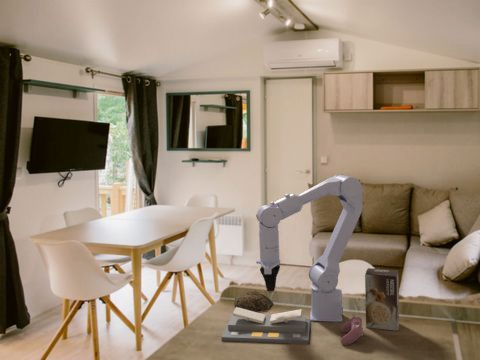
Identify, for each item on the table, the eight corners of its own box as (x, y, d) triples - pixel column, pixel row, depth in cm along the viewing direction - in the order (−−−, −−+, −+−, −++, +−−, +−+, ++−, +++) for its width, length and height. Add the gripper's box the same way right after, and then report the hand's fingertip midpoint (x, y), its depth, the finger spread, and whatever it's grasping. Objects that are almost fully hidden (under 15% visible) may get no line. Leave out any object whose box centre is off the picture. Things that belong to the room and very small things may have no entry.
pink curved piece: (354, 352, 139) (367, 330, 138) (339, 344, 140) (351, 322, 138) (354, 336, 149) (365, 316, 147) (339, 329, 149) (350, 308, 148)
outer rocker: (264, 318, 154) (265, 314, 154) (262, 325, 150) (263, 321, 149) (235, 310, 156) (236, 306, 155) (232, 317, 151) (233, 313, 151)
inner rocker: (302, 313, 152) (301, 309, 152) (301, 319, 148) (300, 315, 147) (272, 318, 154) (271, 314, 154) (270, 325, 149) (269, 321, 149)
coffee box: (399, 323, 153) (400, 270, 151) (397, 331, 147) (398, 276, 145) (368, 319, 157) (367, 267, 155) (364, 327, 151) (364, 273, 149)
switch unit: (309, 322, 156) (309, 314, 156) (308, 343, 141) (308, 335, 141) (231, 319, 160) (230, 311, 160) (221, 340, 145) (221, 331, 145)
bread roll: (230, 312, 167) (230, 297, 166) (237, 298, 179) (236, 284, 178) (270, 313, 165) (270, 298, 164) (274, 299, 177) (274, 285, 176)
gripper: (258, 240, 162) (260, 282, 163) (252, 252, 147) (254, 298, 149) (281, 240, 160) (282, 282, 162) (277, 252, 146) (279, 299, 148)
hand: (270, 290), depth 155 cm, fingers closed
